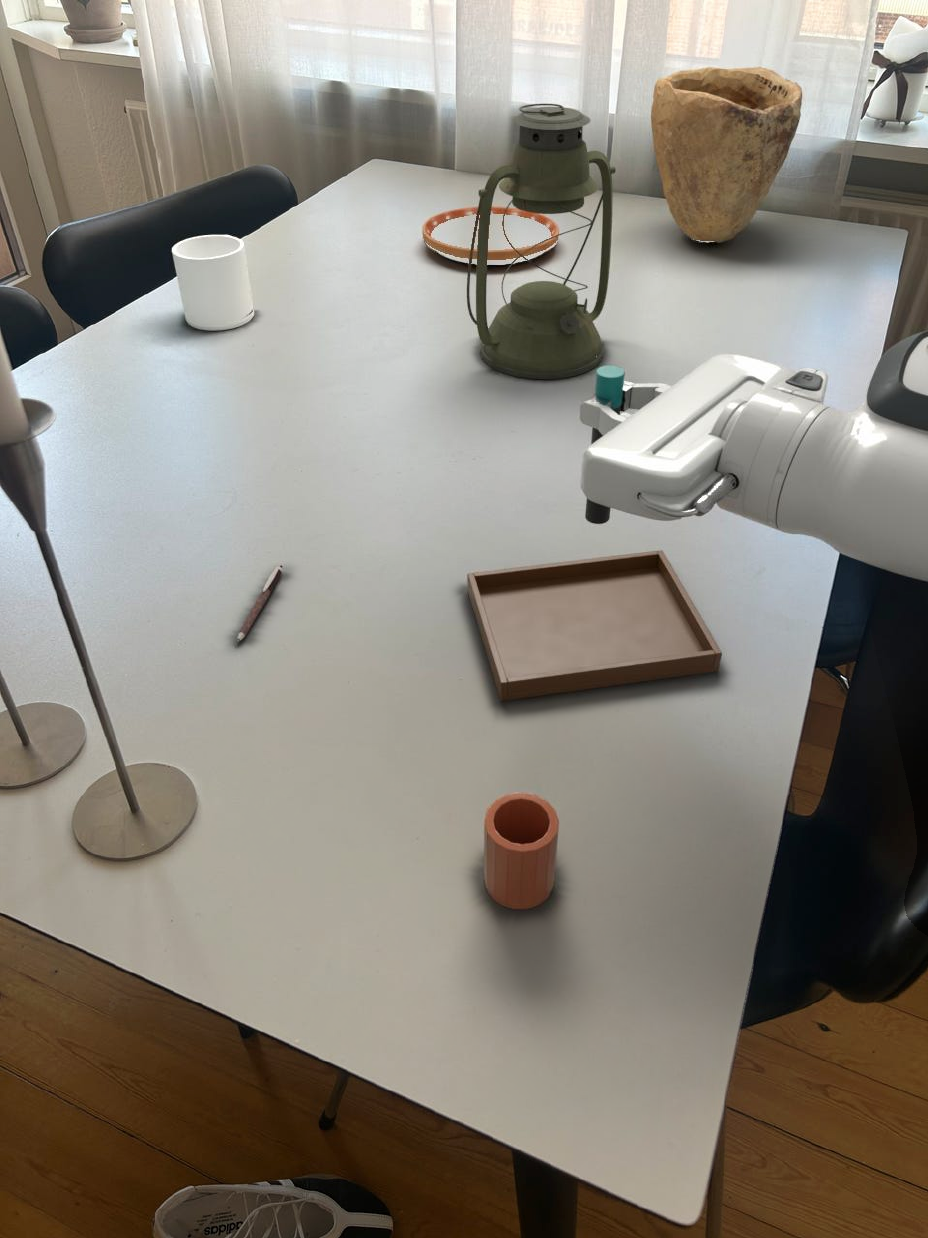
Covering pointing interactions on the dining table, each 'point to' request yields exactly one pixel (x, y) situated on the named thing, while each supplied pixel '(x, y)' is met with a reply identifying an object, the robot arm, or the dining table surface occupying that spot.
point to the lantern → (546, 184)
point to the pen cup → (520, 850)
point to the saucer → (492, 254)
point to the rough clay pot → (721, 144)
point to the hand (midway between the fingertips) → (598, 399)
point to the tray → (588, 625)
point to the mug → (213, 281)
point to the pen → (260, 602)
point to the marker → (610, 389)
